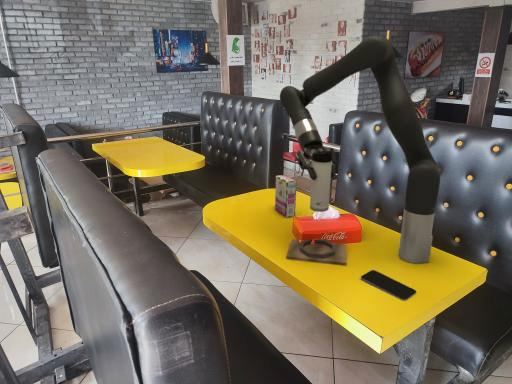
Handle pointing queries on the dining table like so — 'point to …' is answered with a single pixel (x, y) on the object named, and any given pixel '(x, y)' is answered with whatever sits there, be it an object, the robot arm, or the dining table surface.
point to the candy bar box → (285, 195)
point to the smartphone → (388, 285)
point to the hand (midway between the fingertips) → (324, 177)
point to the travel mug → (321, 181)
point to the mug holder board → (318, 251)
